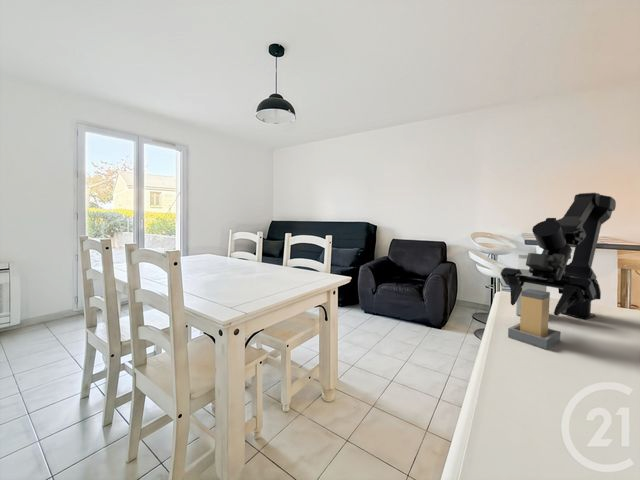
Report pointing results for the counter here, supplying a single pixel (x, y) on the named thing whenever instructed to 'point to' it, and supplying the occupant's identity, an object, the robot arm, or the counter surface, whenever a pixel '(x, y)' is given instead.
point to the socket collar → (534, 337)
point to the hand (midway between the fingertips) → (532, 309)
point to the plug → (535, 312)
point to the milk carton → (525, 271)
